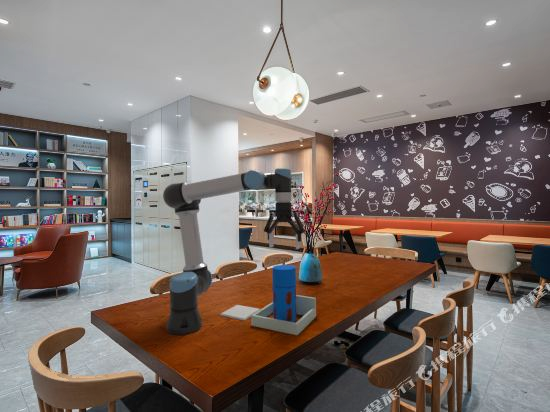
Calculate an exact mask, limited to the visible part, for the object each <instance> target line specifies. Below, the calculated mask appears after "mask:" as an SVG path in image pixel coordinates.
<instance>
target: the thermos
mask: <svg viewBox="0 0 550 412" xmlns="http://www.w3.org/2000/svg"><path fill="white" fill-rule="evenodd" d="M296 270H297V269H296V266H295V265H291V264H277V265H274V266H273V267H272V271H271V272H272V302H273V313H272V315H273V316H272V318H273V319H278V320H283V321H288V322H293V323H296V322H297V314H296V295H297V271H296Z"/></svg>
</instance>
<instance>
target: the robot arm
mask: <svg viewBox="0 0 550 412" xmlns="http://www.w3.org/2000/svg"><path fill="white" fill-rule="evenodd" d="M250 190H253V191H254V190H255V191H261V190H263V191H264V190H274V195H275V196H274V200H275V202H276V203H275V204H274V205H275V212H273V211H272V212H269V217H268V219H267V222H266V224H265V226H264V229H263V232H264V233H267V240H268V243H269V248H274V233H273V231H274V230H275V229H276V227H277V226H278V224H279V223H288V224H289V226H291V227H292V229H293V230H294V232H295V233H296V234H295V250H299V249H301V246H300V244H301V242H302V234H304V233H306V230H305V227H304V226H303V223H302V221H301V219H300V216H299V215H300V214H299V212H297V211H296V212H293V211H292V210H293V208H292V200H293V199H292V197H293V196H292V171H291V169H290V168H288V167H287V168H286V167H279V168H275V169H274V172H272V173H267V172H266V173H264V172H261V171H259V170H257V169H251V170H248V171H246V172H243V173H236V174H233V175H232V174H231V175H227V176H222V177H216V178H211V179H207V180H201V181H196V182H192V183H189V182H187V181H184V182H179V183H171V184H169V185H167V187H166V188H165V189H164V191H163V193H162V198H163V201H164V203H165V204H166V205H167V206H168V207H169V208H172V209H174V214H175V215H177V217H178V219H179V225H180V227H179V228H180V234H181V241H182V249H183V255H184V267H183V268H182V272H180V273H176V274H174V275H172V276H171V278H170V279H169V287H168V288H169V302H170V303H169V304H170V309H169V310H170V311H169V315H168V319H167V322H166V324H165V325H166V332H167V333H169V334H172V335H178V336H179V335H188V334H191V333H195V332H197V331H198V330H200V329H201V328H202V326H203V320H202V318H201V314H200V311H199V307H198V302H199V301H198V297H200V296H201V295H202V294H203V293H206V292H207V291H208V290H209V288H211V286H212V283H213V274H212V273H211V270H209V269H208V264H207V263H205V262H204V256H203V255H204V254H203V249H202V243H201V235H200V233H201V232H200V228H199V220H198V213H199V212H200V203H201V202H202V201H201V200H203V199H207V198H213V197H217V196H223V195H229V194H233V193H240V192H245V191H250ZM275 217H276V218H275ZM292 217H293V218H294V219H293V218H292ZM274 218H275V220H274ZM273 220H274V221H273ZM294 221H295V222H294Z"/></svg>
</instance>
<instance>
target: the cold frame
mask: <svg viewBox="0 0 550 412" xmlns="http://www.w3.org/2000/svg"><path fill="white" fill-rule="evenodd" d="M271 314H273V301H272V302H270V303H269V304H267V305H265V306H264V307H262V308H260V310H259V311H258V312H256V313H254V314H253V315H251V317H250V320H251V326H252V327H255V328H256V327H257V328H262V329H265V330H266V329H267V330H272V331H275V332H280V333H284V334H290V335H294V336H298V335H299V334H300V333H301V332H302V331H303V330H305V329H306V328H307V326H308V325H309V324H310V323H311V322H313V320H314V319H315V318H316V317H317V298H316V297H312V296H307V295H306V296H305V295H300V294H299V295H298V294H296V315H299V316H302V317H300V319H298V321H297V320H296V322H295V323H293V322H288V321H283V320H278V319H273V317H268V316H270V315H271Z"/></svg>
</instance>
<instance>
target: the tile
mask: <svg viewBox="0 0 550 412" xmlns="http://www.w3.org/2000/svg"><path fill="white" fill-rule="evenodd" d="M259 310H261V308H258V307H252V306H245V305H240V304H235V305H234V306H232V307H230V308H228V309H227V310H225V311H223V312H221V313H220V316H221V317H225V318H231V319H233V320H240V321H246V320H249V318H250V319H251V315H253V314H254V313H256V312H258V311H259Z"/></svg>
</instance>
